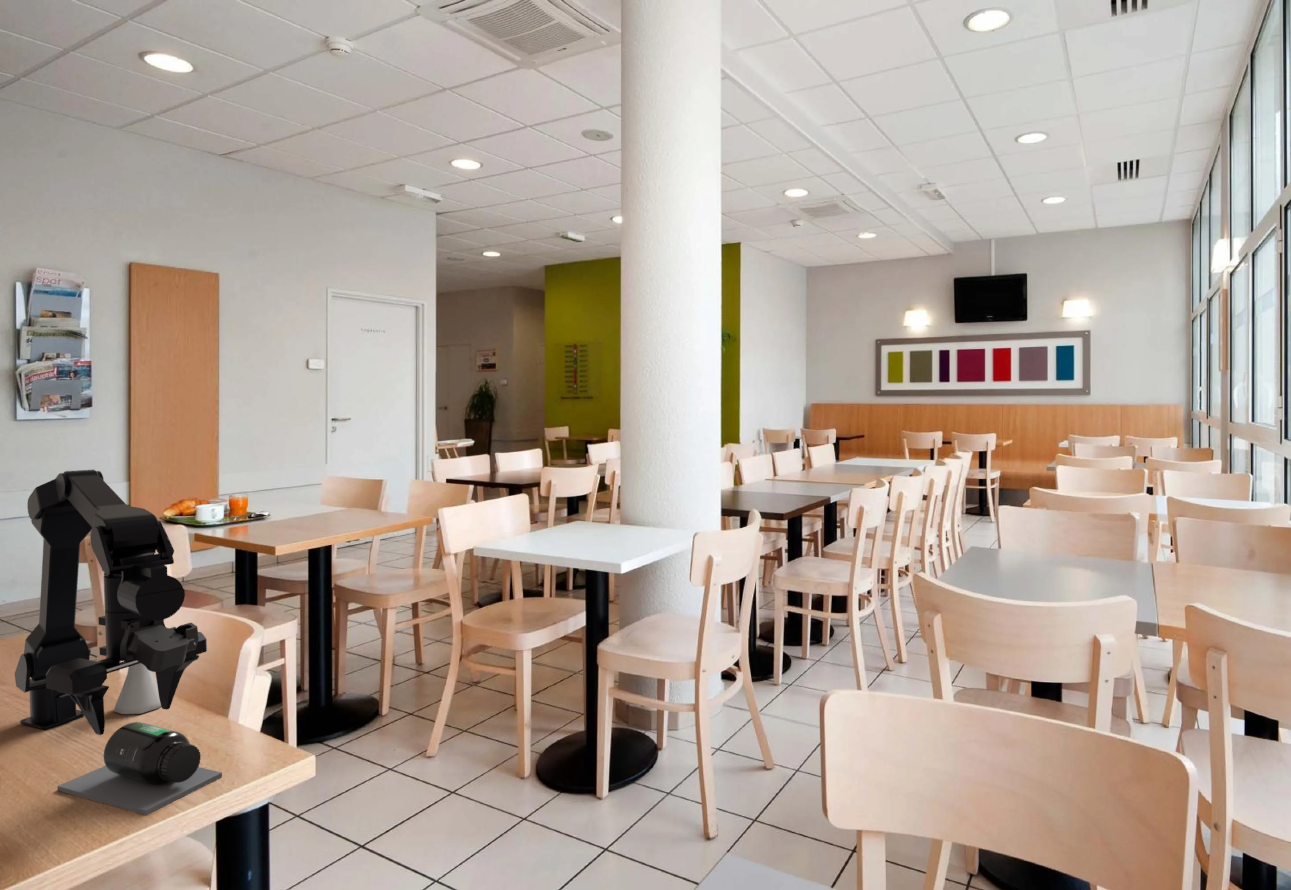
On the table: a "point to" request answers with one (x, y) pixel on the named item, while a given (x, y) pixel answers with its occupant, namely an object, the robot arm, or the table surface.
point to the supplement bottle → (151, 754)
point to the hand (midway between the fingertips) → (134, 721)
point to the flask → (138, 692)
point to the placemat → (134, 789)
